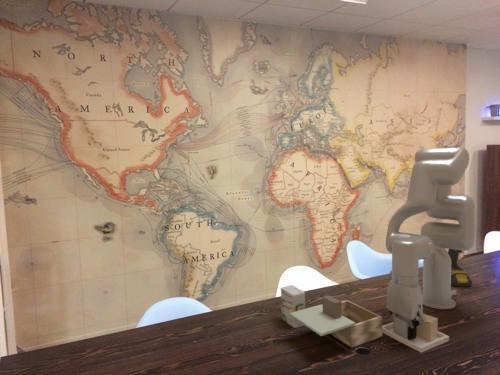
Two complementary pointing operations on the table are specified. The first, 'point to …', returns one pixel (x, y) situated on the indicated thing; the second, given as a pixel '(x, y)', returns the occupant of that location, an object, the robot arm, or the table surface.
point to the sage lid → (323, 317)
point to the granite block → (401, 326)
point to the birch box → (358, 325)
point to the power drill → (458, 271)
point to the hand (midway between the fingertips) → (404, 334)
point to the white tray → (415, 339)
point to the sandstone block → (428, 328)
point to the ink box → (291, 304)
